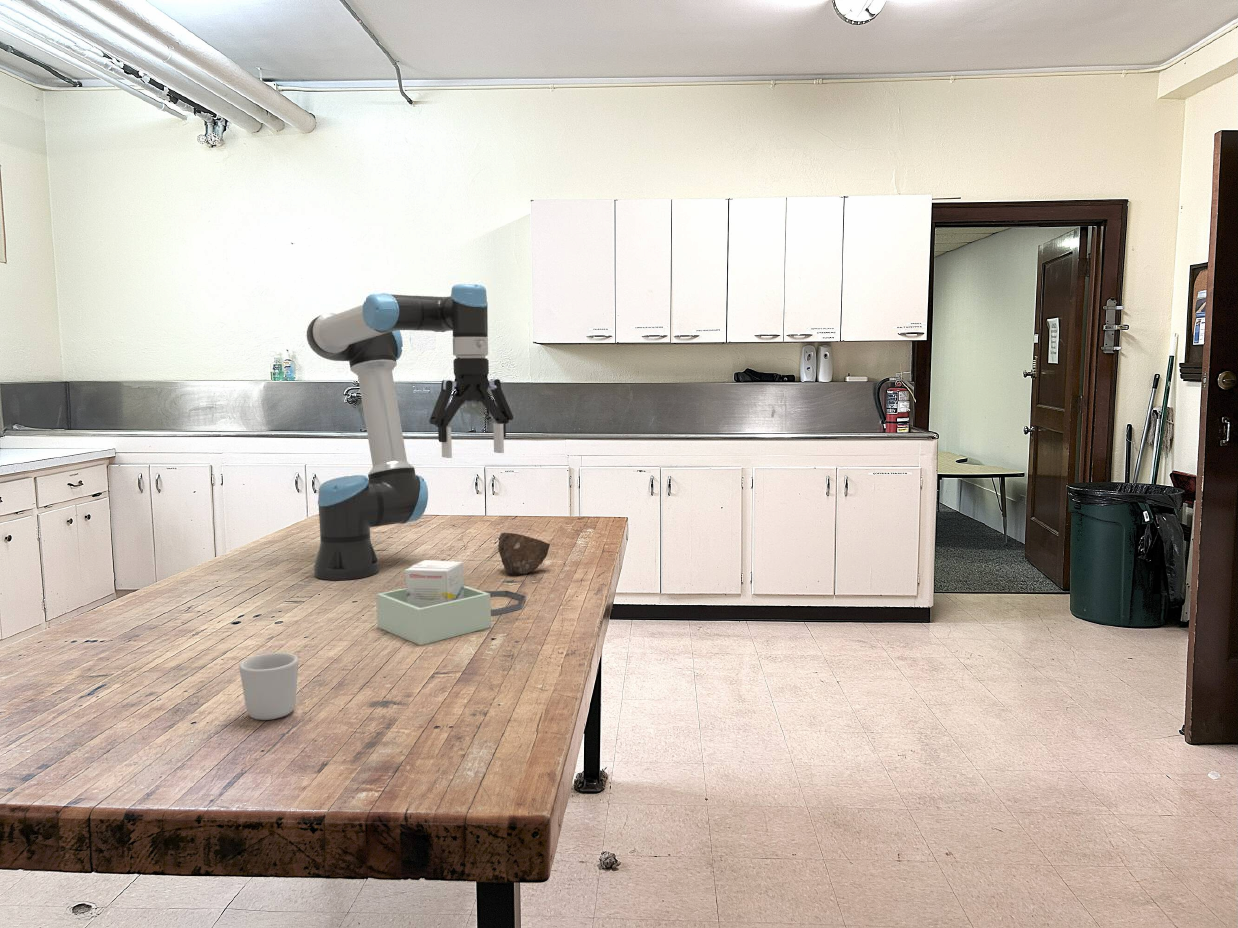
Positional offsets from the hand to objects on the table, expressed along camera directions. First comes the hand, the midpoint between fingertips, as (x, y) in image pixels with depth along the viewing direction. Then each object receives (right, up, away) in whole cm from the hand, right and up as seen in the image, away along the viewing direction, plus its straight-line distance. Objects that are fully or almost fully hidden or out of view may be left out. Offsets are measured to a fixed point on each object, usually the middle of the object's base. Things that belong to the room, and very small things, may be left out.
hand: (473, 455), depth 193 cm
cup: (-19, -38, -63) cm, 76 cm away
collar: (+4, -32, -7) cm, 33 cm away
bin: (-4, -34, -22) cm, 40 cm away
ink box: (-3, -33, -22) cm, 40 cm away
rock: (+8, -29, +22) cm, 37 cm away
